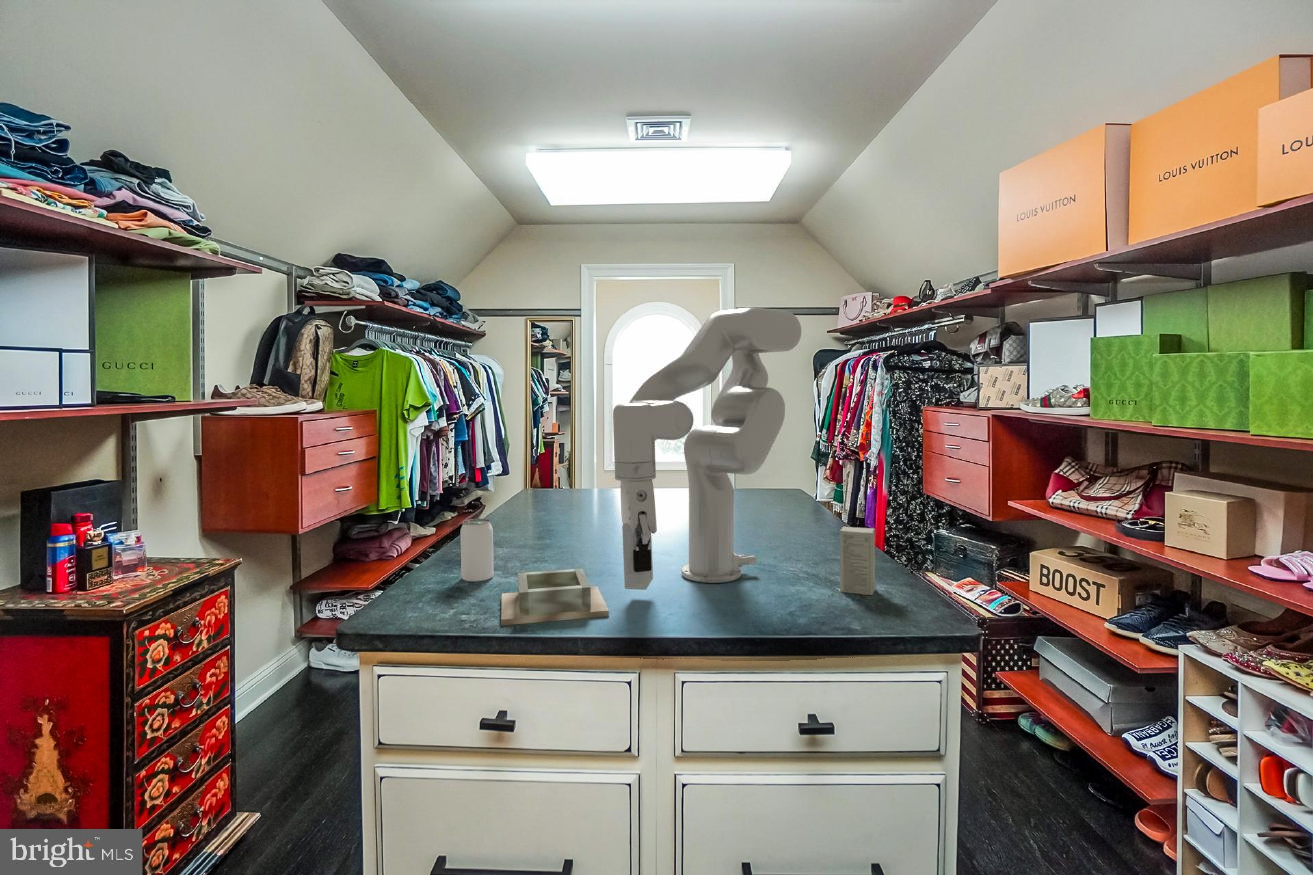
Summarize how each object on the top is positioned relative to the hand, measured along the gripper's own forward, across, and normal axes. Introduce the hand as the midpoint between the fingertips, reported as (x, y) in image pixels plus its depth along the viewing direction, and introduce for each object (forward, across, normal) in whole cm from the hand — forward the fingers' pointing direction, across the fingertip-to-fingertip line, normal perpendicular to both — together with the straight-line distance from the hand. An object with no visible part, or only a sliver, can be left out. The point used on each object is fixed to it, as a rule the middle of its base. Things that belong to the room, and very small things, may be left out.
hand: (638, 564), depth 115 cm
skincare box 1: (+4, 0, 0) cm, 4 cm away
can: (+6, +21, +30) cm, 37 cm away
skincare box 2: (+8, -6, -42) cm, 43 cm away
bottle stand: (+6, -1, +16) cm, 17 cm away
